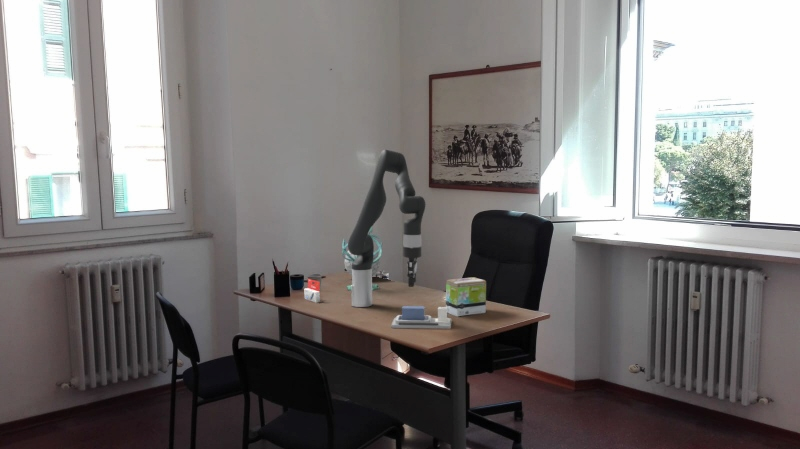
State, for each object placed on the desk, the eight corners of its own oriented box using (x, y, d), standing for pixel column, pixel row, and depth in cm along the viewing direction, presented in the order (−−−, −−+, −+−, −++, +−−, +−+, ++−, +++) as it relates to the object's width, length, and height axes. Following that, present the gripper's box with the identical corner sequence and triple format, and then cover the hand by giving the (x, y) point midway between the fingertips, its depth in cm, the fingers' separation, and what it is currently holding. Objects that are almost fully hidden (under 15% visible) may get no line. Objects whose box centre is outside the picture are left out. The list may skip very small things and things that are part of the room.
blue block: (402, 322, 269) (401, 308, 268) (403, 320, 273) (402, 306, 272) (424, 322, 268) (423, 308, 267) (424, 320, 272) (424, 306, 271)
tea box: (457, 317, 281) (457, 283, 279) (445, 312, 290) (445, 279, 288) (486, 313, 288) (486, 279, 286) (473, 308, 297) (473, 276, 295)
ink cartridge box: (316, 302, 312) (315, 282, 311) (304, 298, 321) (303, 279, 320) (320, 302, 314) (320, 281, 313) (308, 298, 322) (308, 278, 321)
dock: (391, 327, 265) (391, 310, 265) (394, 320, 277) (394, 304, 276) (450, 328, 263) (450, 311, 262) (451, 321, 275) (451, 304, 274)
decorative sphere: (386, 279, 366) (386, 244, 364) (355, 283, 355) (354, 247, 353) (368, 274, 383) (368, 240, 380) (338, 278, 372) (337, 243, 370)
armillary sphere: (359, 280, 363) (360, 218, 357) (392, 290, 345) (394, 224, 339) (329, 287, 347) (329, 222, 342) (362, 297, 330) (363, 228, 324)
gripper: (404, 242, 274) (404, 280, 276) (401, 247, 260) (401, 287, 262) (422, 242, 273) (422, 281, 275) (420, 248, 259) (419, 288, 261)
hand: (412, 284), depth 268 cm, fingers open, 8 cm apart
